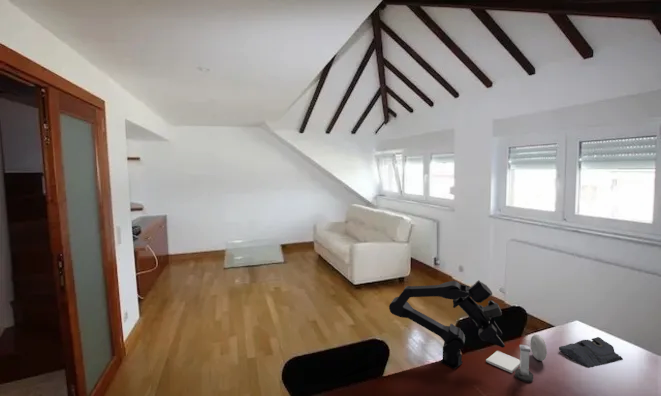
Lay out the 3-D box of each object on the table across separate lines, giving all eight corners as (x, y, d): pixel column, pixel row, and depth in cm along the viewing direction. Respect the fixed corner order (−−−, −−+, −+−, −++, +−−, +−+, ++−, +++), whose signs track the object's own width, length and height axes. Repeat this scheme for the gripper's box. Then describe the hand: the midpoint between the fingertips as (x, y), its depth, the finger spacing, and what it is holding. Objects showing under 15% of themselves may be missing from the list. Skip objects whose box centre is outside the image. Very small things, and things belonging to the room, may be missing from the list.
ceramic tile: (486, 361, 135) (486, 359, 135) (497, 352, 142) (497, 350, 141) (511, 373, 128) (511, 370, 127) (522, 363, 134) (522, 360, 134)
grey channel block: (534, 383, 121) (535, 352, 120) (516, 380, 123) (516, 349, 122) (531, 374, 127) (532, 344, 126) (514, 370, 129) (514, 341, 128)
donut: (547, 366, 131) (548, 342, 130) (538, 365, 132) (539, 341, 131) (537, 352, 141) (538, 330, 140) (528, 351, 142) (529, 329, 141)
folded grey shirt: (551, 350, 144) (551, 339, 143) (588, 341, 150) (589, 331, 149) (587, 370, 129) (588, 358, 128) (627, 359, 135) (627, 348, 135)
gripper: (489, 306, 119) (524, 341, 115) (487, 288, 136) (516, 318, 133) (465, 323, 123) (498, 358, 119) (466, 304, 140) (494, 333, 136)
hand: (502, 340), depth 127 cm, fingers open, 9 cm apart
